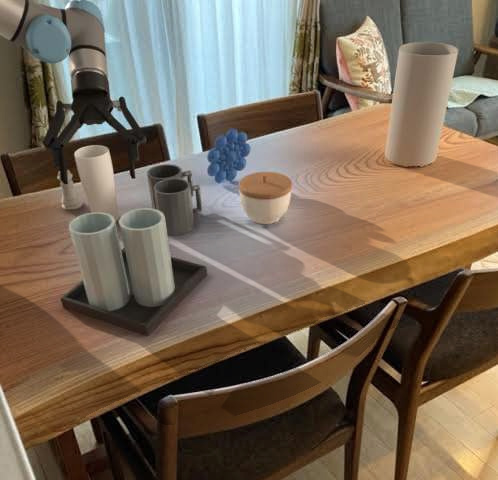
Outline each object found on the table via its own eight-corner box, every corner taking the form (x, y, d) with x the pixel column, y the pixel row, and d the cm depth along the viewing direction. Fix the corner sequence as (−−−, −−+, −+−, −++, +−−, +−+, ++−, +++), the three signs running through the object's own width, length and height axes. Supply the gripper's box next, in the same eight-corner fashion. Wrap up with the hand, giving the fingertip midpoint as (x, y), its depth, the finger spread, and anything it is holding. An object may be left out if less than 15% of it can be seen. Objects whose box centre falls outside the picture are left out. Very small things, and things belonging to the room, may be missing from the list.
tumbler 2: (126, 302, 91) (109, 224, 82) (150, 281, 96) (136, 204, 86) (160, 313, 89) (147, 233, 79) (183, 291, 93) (173, 213, 84)
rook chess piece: (72, 213, 117) (63, 178, 111) (58, 208, 118) (48, 173, 113) (87, 204, 119) (79, 170, 114) (73, 200, 121) (64, 166, 116)
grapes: (240, 168, 132) (238, 119, 125) (256, 177, 128) (255, 127, 120) (199, 180, 127) (195, 130, 120) (214, 191, 123) (210, 139, 115)
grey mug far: (162, 222, 112) (156, 181, 107) (147, 209, 117) (141, 170, 111) (202, 209, 116) (198, 169, 111) (186, 197, 121) (182, 158, 115)
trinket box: (284, 202, 118) (285, 161, 112) (296, 226, 109) (297, 183, 104) (236, 207, 116) (234, 166, 110) (244, 232, 108) (242, 189, 102)
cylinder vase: (440, 153, 136) (463, 44, 120) (429, 172, 128) (451, 58, 112) (392, 145, 141) (407, 40, 125) (378, 163, 132) (392, 52, 117)
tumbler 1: (81, 307, 91) (58, 228, 81) (107, 285, 95) (88, 208, 86) (114, 318, 88) (95, 238, 79) (138, 295, 93) (123, 217, 83)
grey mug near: (169, 239, 107) (163, 197, 101) (153, 224, 112) (147, 184, 106) (210, 225, 111) (207, 184, 105) (194, 211, 116) (190, 172, 110)
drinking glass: (84, 220, 114) (67, 151, 104) (112, 209, 117) (97, 142, 108) (100, 231, 110) (84, 161, 100) (129, 220, 113) (115, 151, 104)
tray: (62, 307, 91) (59, 298, 89) (128, 253, 103) (127, 244, 102) (148, 336, 84) (146, 326, 83) (207, 275, 97) (206, 266, 96)
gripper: (152, 85, 115) (162, 180, 113) (33, 93, 113) (41, 190, 111) (148, 64, 108) (159, 166, 106) (21, 73, 106) (29, 177, 104)
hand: (98, 179), depth 108 cm, fingers open, 13 cm apart
